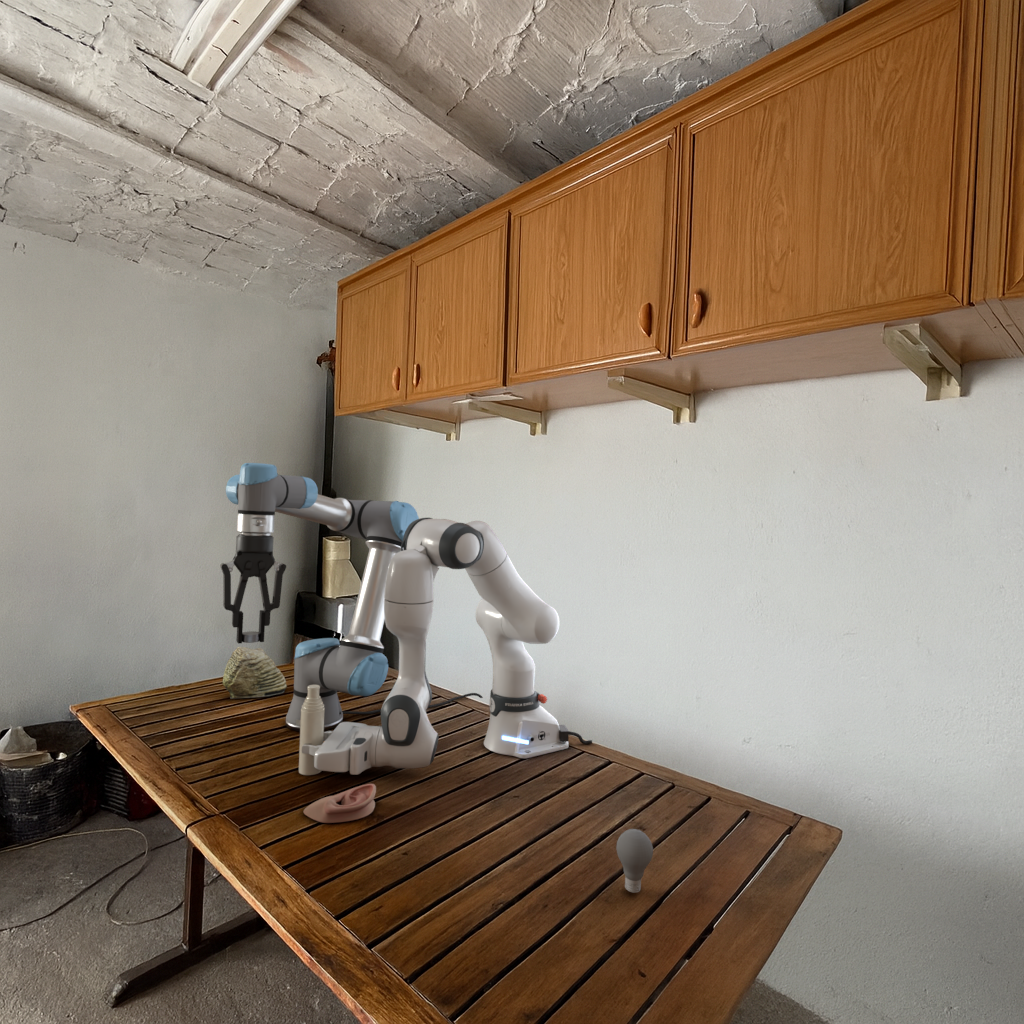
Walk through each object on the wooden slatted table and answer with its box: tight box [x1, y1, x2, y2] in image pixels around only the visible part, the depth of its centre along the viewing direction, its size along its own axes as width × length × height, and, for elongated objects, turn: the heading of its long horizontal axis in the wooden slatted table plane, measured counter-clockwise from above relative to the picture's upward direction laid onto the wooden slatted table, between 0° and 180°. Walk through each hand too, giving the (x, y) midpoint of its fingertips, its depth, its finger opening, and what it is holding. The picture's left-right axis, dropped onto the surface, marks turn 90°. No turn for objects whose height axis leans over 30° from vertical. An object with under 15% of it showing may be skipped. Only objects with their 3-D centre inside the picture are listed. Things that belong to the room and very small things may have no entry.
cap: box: [242, 630, 260, 644], centre depth 138 cm, size 4×4×2 cm
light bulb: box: [615, 828, 654, 894], centre depth 106 cm, size 6×6×10 cm
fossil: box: [222, 646, 288, 699], centre depth 198 cm, size 9×18×15 cm, turn 132°
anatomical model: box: [302, 783, 377, 824], centre depth 128 cm, size 13×4×12 cm
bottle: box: [298, 685, 325, 776], centre depth 146 cm, size 5×5×20 cm
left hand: (250, 641), depth 138 cm, fingers closed on cap, 4 cm apart
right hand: (307, 742), depth 146 cm, fingers closed on bottle, 5 cm apart
